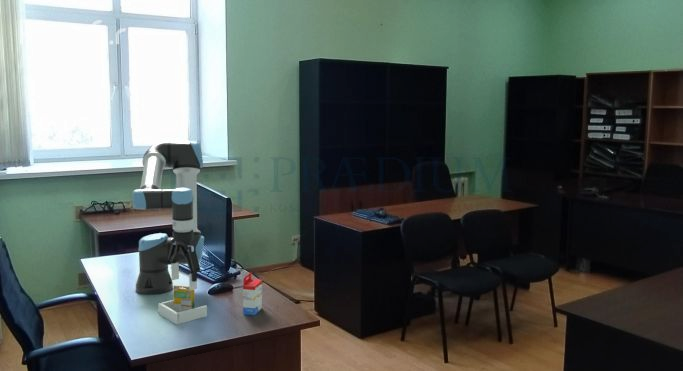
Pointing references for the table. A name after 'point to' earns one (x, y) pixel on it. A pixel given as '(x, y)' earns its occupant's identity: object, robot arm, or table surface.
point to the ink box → (252, 295)
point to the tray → (184, 316)
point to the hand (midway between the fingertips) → (184, 284)
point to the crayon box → (183, 299)
